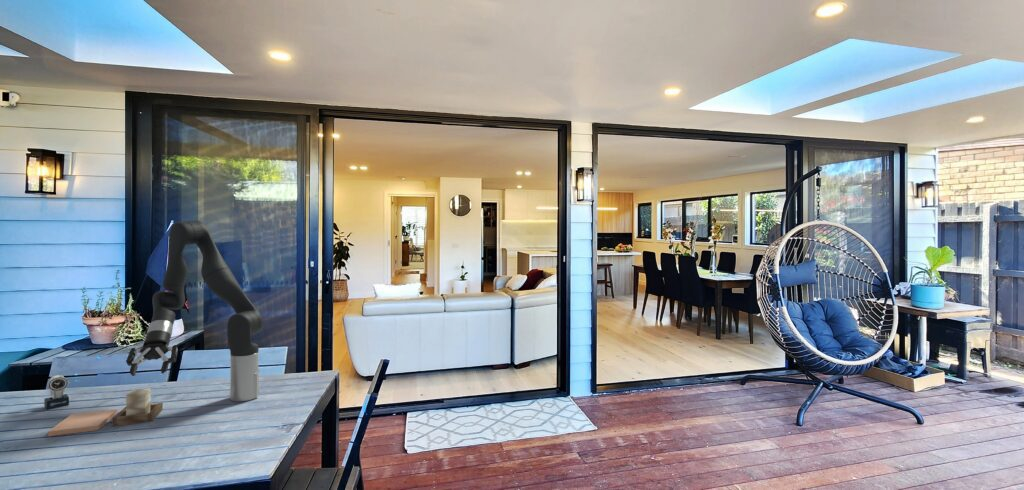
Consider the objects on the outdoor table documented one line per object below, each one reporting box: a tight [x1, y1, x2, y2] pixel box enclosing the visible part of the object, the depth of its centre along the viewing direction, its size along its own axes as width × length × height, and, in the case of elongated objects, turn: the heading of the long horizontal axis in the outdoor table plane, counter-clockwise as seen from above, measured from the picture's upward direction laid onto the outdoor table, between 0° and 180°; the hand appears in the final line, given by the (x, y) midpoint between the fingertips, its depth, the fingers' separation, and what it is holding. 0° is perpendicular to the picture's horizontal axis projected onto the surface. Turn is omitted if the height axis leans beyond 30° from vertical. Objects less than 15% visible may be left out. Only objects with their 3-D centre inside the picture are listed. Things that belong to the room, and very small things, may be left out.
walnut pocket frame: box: [111, 402, 163, 427], centre depth 148 cm, size 10×10×2 cm
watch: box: [43, 374, 70, 411], centre depth 156 cm, size 6×8×11 cm
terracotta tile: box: [47, 408, 118, 437], centre depth 142 cm, size 12×14×2 cm
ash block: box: [125, 387, 151, 416], centre depth 148 cm, size 5×5×9 cm
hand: (147, 373), depth 156 cm, fingers open, 8 cm apart
